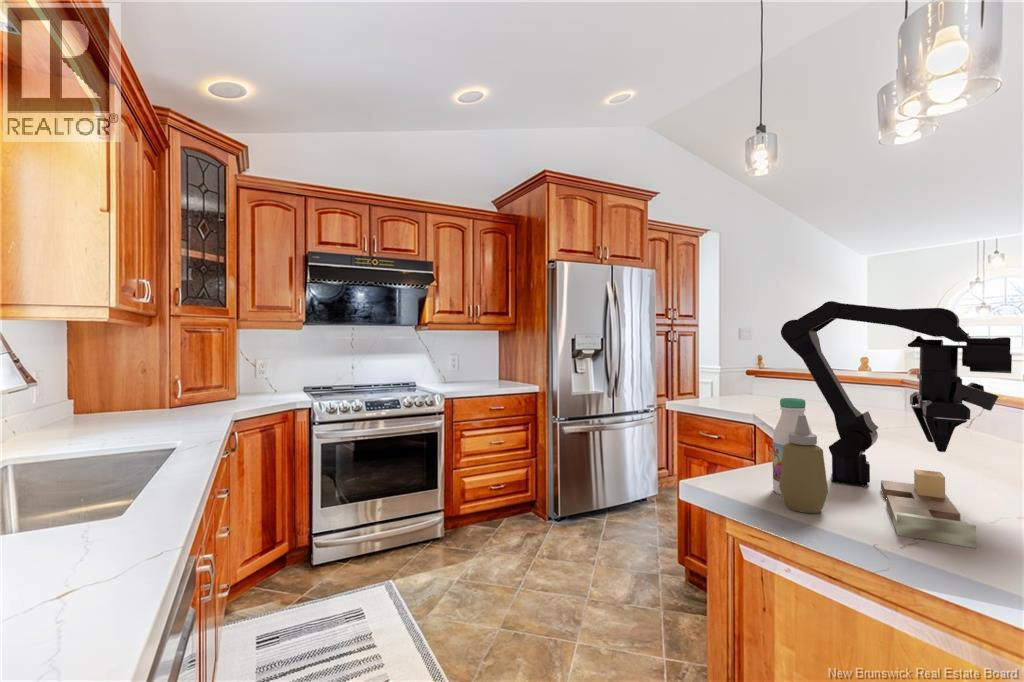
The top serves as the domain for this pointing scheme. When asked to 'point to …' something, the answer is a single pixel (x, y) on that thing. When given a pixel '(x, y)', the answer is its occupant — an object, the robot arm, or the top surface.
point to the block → (929, 483)
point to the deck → (926, 516)
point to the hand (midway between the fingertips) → (936, 446)
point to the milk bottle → (785, 433)
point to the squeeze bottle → (803, 471)
